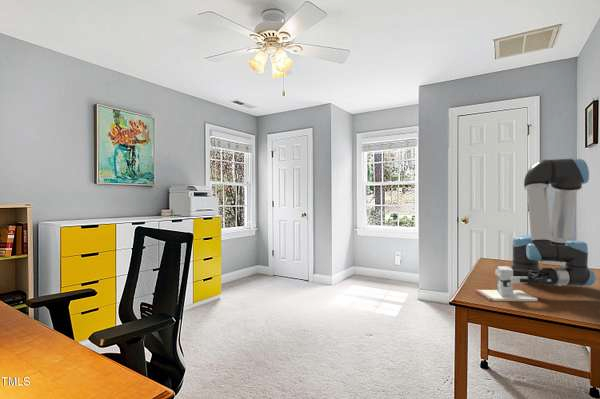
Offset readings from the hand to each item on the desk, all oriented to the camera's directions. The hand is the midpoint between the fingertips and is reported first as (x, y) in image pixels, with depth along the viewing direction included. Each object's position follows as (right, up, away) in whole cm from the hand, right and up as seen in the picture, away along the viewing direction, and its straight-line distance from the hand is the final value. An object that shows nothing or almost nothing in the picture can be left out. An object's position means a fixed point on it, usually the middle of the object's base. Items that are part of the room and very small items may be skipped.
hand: (502, 275), depth 151 cm
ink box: (+1, -8, 0) cm, 8 cm away
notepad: (+1, -9, 0) cm, 9 cm away
